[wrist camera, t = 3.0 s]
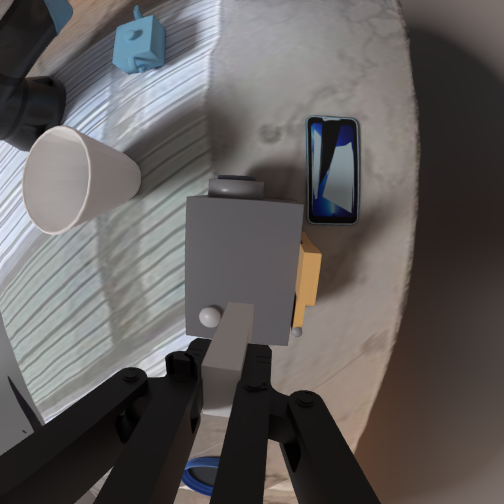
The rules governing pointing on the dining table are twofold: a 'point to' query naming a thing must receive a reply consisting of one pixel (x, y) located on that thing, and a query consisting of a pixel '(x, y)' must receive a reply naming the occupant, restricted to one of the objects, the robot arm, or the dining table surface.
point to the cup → (74, 179)
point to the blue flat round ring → (201, 474)
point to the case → (241, 257)
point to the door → (305, 282)
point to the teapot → (139, 44)
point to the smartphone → (332, 170)
